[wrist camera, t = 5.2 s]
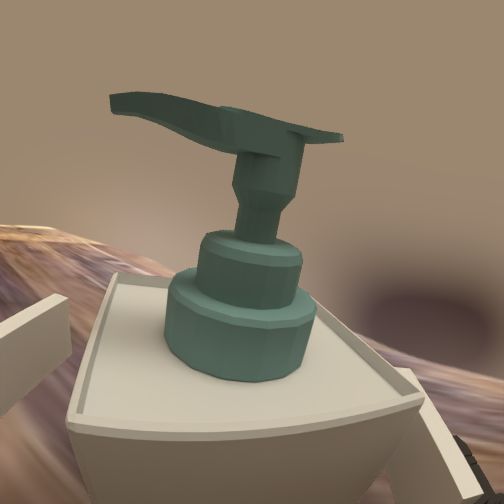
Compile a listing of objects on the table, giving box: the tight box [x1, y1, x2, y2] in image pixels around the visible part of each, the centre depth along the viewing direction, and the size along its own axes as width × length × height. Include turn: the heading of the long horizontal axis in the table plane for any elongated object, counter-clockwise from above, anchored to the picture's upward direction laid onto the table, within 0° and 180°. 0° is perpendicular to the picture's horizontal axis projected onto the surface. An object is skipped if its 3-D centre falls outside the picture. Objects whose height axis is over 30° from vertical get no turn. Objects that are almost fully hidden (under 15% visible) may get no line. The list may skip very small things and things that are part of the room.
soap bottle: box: [65, 92, 425, 504], centre depth 10 cm, size 9×9×19 cm
